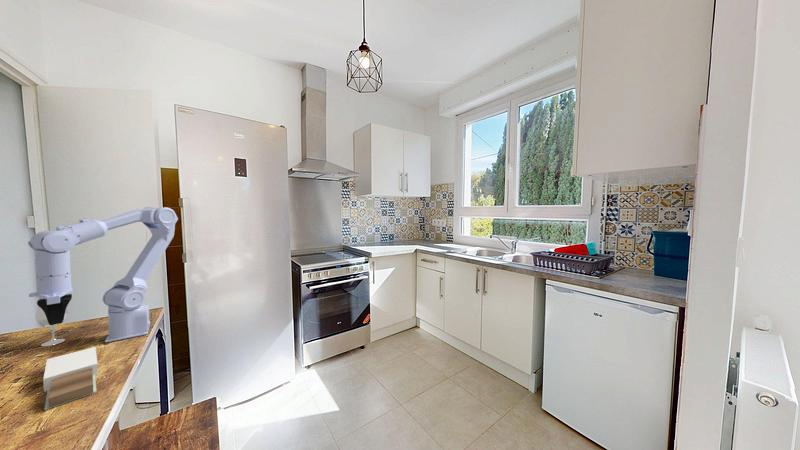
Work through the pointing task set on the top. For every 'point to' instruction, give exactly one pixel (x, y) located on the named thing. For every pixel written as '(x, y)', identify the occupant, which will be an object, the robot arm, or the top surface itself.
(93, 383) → the mat
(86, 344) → the top surface
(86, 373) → the tan cardboard slab
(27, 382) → the top surface
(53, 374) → the tray
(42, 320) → the wineglass
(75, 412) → the top surface
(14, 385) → the top surface
